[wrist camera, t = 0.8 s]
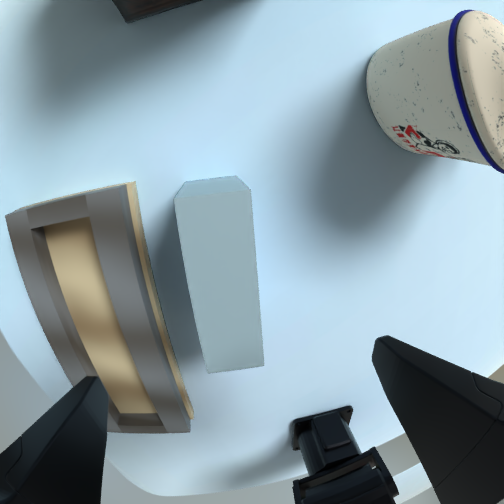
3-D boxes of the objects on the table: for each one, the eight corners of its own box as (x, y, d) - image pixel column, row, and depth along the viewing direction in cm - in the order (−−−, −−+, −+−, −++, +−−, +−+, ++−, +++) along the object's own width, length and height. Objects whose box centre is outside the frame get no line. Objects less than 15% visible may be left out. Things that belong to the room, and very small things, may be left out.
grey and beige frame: (193, 410, 23) (193, 432, 21) (105, 412, 22) (100, 431, 20) (135, 181, 16) (123, 186, 13) (22, 207, 15) (2, 216, 12)
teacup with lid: (366, 155, 17) (517, 186, 6) (351, 30, 14) (475, -35, 3) (473, 160, 18) (581, 190, 8) (464, 63, 15) (569, 57, 4)
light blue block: (248, 307, 20) (264, 365, 14) (205, 313, 20) (207, 373, 14) (236, 175, 17) (250, 189, 11) (185, 181, 16) (173, 198, 11)
